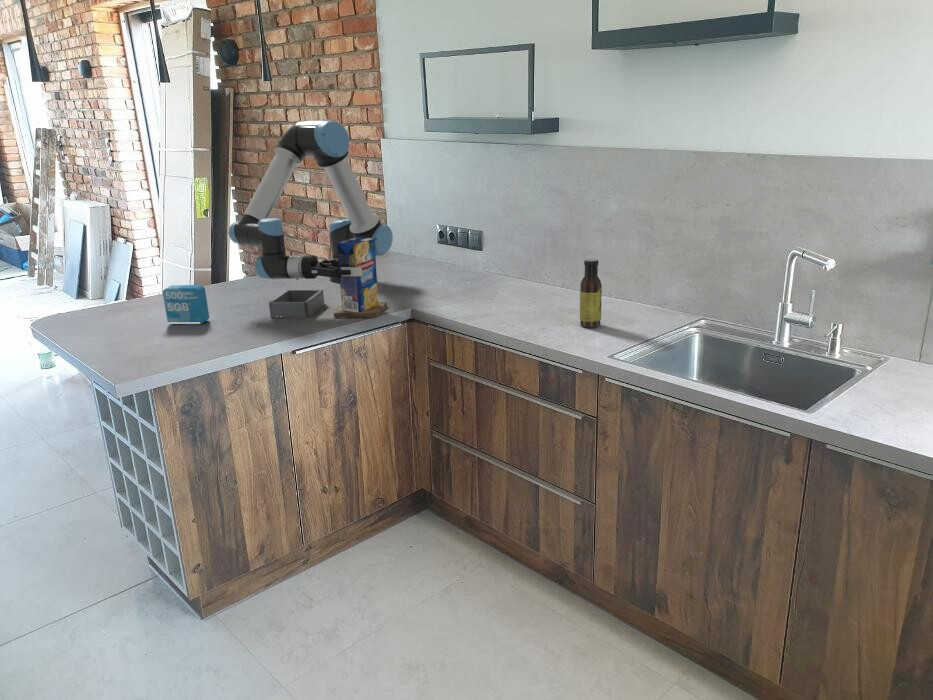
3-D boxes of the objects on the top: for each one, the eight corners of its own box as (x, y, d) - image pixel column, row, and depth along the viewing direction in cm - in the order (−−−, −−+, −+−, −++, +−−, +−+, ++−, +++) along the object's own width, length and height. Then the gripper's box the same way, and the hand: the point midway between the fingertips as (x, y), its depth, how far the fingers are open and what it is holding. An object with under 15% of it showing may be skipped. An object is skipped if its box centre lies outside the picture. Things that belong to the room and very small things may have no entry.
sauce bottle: (604, 327, 210) (606, 261, 203) (584, 329, 208) (585, 262, 202) (595, 321, 215) (597, 256, 209) (576, 323, 214) (577, 258, 208)
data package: (167, 325, 226) (161, 288, 222) (174, 321, 231) (167, 285, 227) (204, 324, 226) (198, 288, 222) (210, 320, 230) (204, 284, 226)
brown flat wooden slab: (346, 305, 241) (346, 301, 241) (386, 306, 240) (386, 301, 239) (334, 317, 228) (333, 313, 228) (376, 317, 227) (376, 313, 226)
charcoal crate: (289, 303, 247) (287, 289, 245) (324, 303, 245) (322, 289, 243) (270, 317, 231) (268, 302, 229) (307, 317, 229) (306, 302, 228)
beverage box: (378, 304, 237) (374, 238, 229) (359, 312, 227) (354, 244, 220) (361, 301, 240) (357, 236, 232) (342, 310, 230) (336, 242, 223)
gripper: (317, 269, 244) (377, 269, 242) (291, 287, 221) (357, 287, 218) (315, 248, 242) (376, 247, 239) (288, 264, 219) (355, 263, 216)
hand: (367, 266), depth 229 cm, fingers open, 13 cm apart
